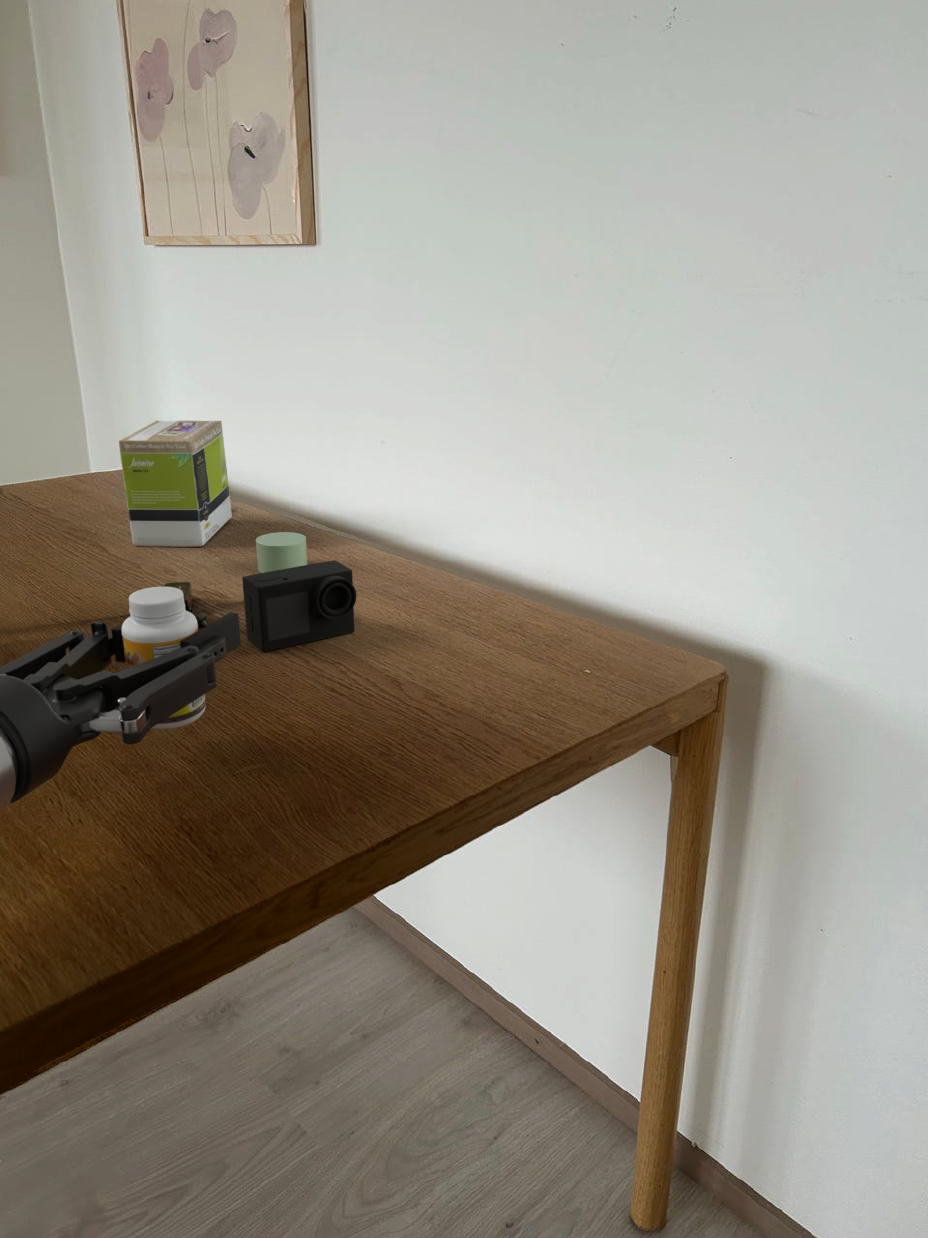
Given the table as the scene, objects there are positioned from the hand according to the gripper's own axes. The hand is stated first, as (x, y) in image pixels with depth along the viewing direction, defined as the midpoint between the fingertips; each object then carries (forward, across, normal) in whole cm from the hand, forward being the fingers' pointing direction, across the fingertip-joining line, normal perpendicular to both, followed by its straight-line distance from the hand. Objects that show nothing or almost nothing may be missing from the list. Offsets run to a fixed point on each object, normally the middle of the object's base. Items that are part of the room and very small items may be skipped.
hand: (202, 623), depth 78 cm
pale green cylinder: (+36, -14, -9) cm, 40 cm away
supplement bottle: (-5, 0, -6) cm, 8 cm away
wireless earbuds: (+19, -16, -10) cm, 27 cm away
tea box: (+48, -38, -10) cm, 62 cm away
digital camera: (+20, -2, -9) cm, 22 cm away
